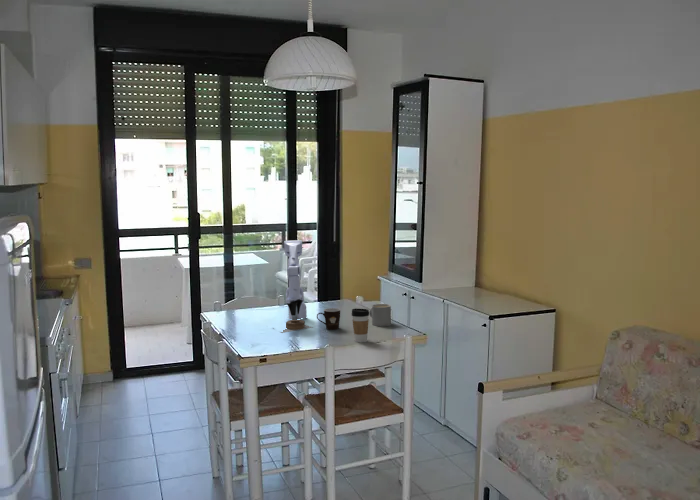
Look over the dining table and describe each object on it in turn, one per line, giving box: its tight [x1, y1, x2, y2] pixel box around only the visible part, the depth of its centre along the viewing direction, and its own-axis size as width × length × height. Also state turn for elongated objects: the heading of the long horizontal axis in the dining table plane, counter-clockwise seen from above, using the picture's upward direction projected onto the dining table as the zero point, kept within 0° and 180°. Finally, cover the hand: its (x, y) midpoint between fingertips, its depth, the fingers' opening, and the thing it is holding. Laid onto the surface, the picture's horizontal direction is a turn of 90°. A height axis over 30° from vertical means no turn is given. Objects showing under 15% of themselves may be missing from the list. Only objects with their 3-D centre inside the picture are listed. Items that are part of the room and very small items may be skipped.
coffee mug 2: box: [369, 303, 392, 327], centre depth 305 cm, size 13×10×10 cm
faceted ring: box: [285, 319, 306, 331], centre depth 300 cm, size 9×9×3 cm
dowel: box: [292, 306, 298, 320], centre depth 299 cm, size 3×3×8 cm
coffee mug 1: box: [316, 307, 341, 331], centre depth 296 cm, size 12×9×10 cm
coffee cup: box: [351, 308, 370, 343], centre depth 271 cm, size 8×8×15 cm
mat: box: [280, 324, 314, 334], centre depth 301 cm, size 18×18×1 cm
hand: (295, 314), depth 299 cm, fingers closed on dowel, 3 cm apart
